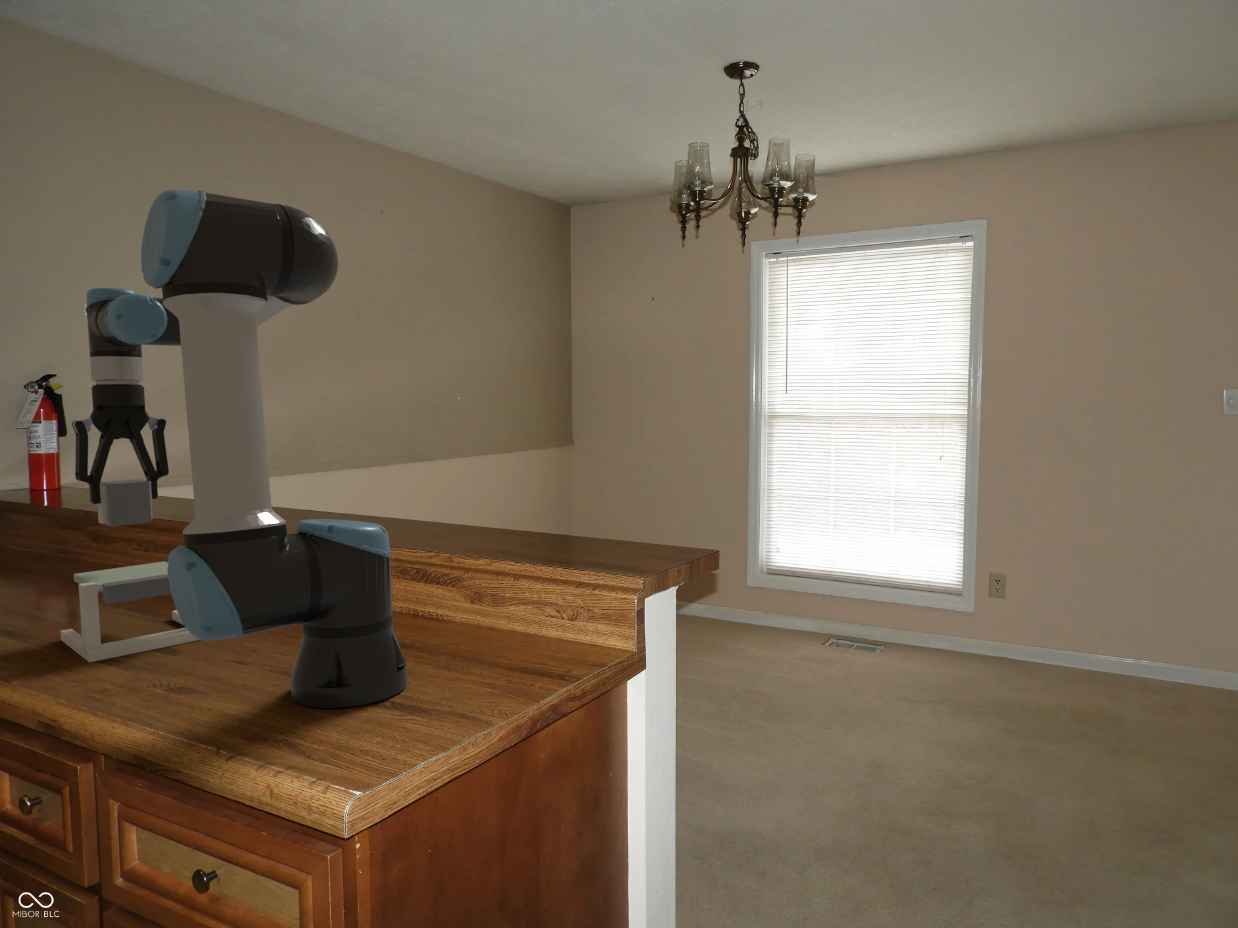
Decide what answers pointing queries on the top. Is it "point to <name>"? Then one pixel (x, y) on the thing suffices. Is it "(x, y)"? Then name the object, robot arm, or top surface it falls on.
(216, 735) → the top surface
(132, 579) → the trapdoor
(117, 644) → the stand
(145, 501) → the basalt block
